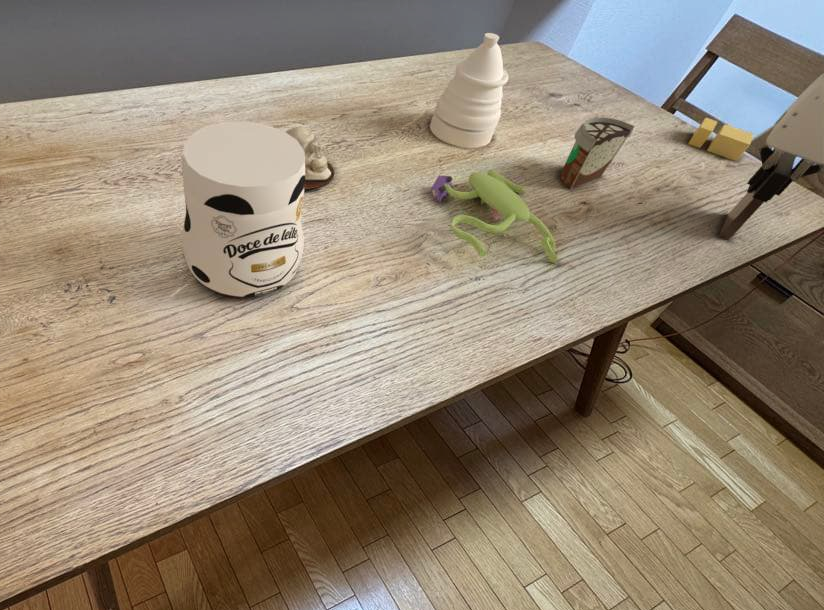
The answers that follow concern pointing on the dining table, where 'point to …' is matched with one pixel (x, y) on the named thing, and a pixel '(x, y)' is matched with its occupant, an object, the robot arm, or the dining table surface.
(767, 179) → the knife
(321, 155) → the cream carved statuette
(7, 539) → the dining table surface
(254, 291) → the milk container
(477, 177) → the figurine
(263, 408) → the dining table surface
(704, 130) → the block
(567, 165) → the food container
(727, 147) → the butter block
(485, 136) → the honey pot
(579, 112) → the dining table surface
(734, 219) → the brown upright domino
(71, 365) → the dining table surface
